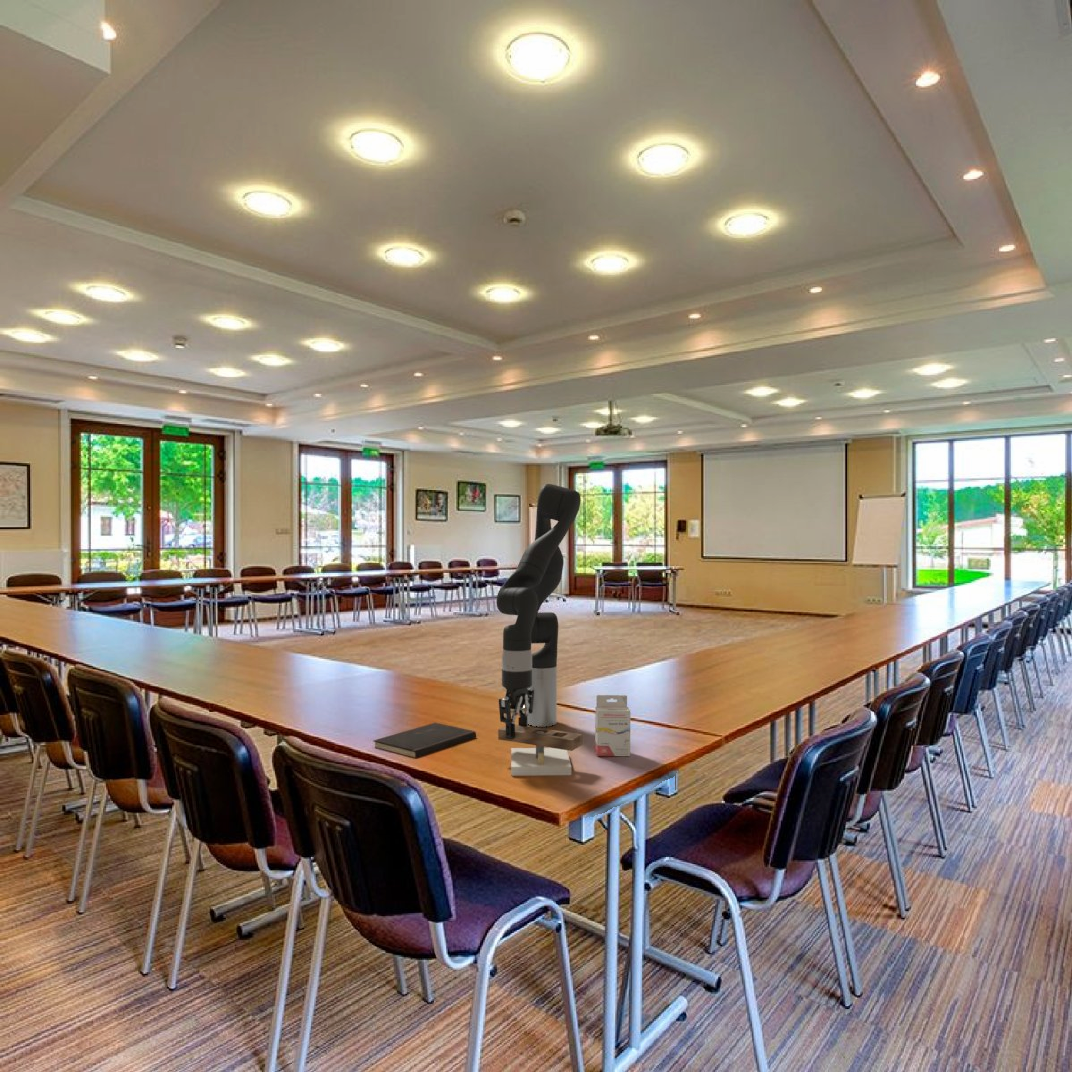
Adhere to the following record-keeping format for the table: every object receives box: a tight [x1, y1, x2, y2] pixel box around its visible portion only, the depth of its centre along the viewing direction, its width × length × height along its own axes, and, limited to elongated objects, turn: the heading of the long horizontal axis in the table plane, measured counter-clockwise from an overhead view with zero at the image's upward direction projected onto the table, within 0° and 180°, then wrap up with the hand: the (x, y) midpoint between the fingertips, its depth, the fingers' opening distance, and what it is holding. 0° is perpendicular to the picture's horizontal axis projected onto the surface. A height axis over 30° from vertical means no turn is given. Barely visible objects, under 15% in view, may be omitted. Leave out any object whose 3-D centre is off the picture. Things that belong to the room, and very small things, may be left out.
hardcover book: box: [373, 722, 477, 759], centre depth 188 cm, size 16×23×2 cm
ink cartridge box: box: [594, 694, 631, 757], centre depth 178 cm, size 9×5×15 cm, turn 92°
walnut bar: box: [497, 724, 583, 752], centre depth 169 cm, size 20×6×2 cm, turn 62°
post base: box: [510, 731, 572, 777], centre depth 169 cm, size 15×14×8 cm
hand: (516, 735), depth 172 cm, fingers closed on walnut bar, 5 cm apart
